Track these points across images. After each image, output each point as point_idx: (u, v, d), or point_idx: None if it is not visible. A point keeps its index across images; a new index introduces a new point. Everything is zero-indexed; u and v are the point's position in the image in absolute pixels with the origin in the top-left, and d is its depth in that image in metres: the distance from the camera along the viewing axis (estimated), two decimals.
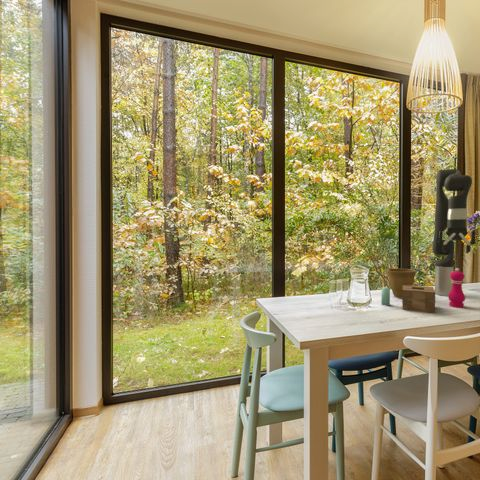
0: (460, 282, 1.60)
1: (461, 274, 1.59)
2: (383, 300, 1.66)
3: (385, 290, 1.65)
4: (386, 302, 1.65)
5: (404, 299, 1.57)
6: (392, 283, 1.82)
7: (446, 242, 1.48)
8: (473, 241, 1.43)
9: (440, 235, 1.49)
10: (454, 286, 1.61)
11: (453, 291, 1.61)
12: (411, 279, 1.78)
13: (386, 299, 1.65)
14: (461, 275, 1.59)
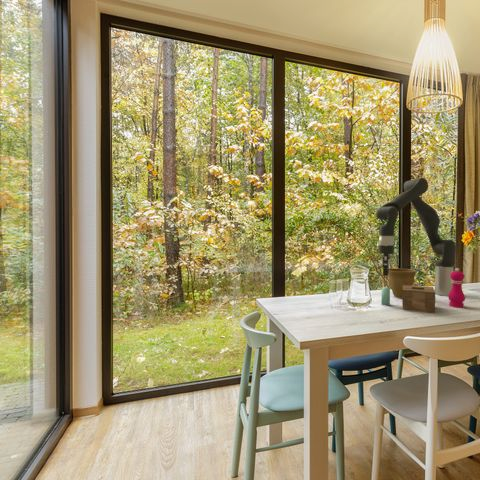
0: (460, 282, 1.60)
1: (461, 274, 1.59)
2: (383, 300, 1.66)
3: (385, 290, 1.65)
4: (386, 302, 1.65)
5: (404, 299, 1.57)
6: (392, 283, 1.82)
7: None
8: None
9: (388, 260, 1.60)
10: (454, 286, 1.61)
11: (453, 291, 1.61)
12: (411, 279, 1.78)
13: (386, 299, 1.65)
14: (461, 275, 1.59)
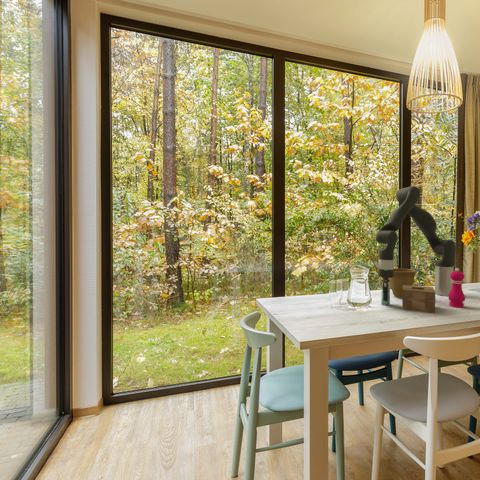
0: (460, 282, 1.60)
1: (461, 274, 1.59)
2: None
3: (385, 290, 1.65)
4: (386, 302, 1.65)
5: (404, 299, 1.57)
6: (392, 283, 1.82)
7: None
8: None
9: (387, 287, 1.61)
10: (454, 286, 1.61)
11: (453, 291, 1.61)
12: (411, 279, 1.78)
13: None
14: (461, 275, 1.59)
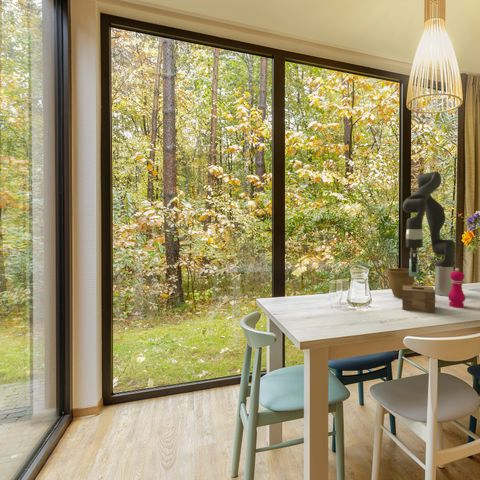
0: (460, 282, 1.60)
1: (461, 274, 1.59)
2: (411, 271, 1.60)
3: None
4: (414, 274, 1.59)
5: (404, 299, 1.57)
6: (392, 283, 1.82)
7: None
8: None
9: (416, 257, 1.55)
10: (454, 286, 1.61)
11: (453, 291, 1.61)
12: (411, 279, 1.78)
13: None
14: (461, 275, 1.59)
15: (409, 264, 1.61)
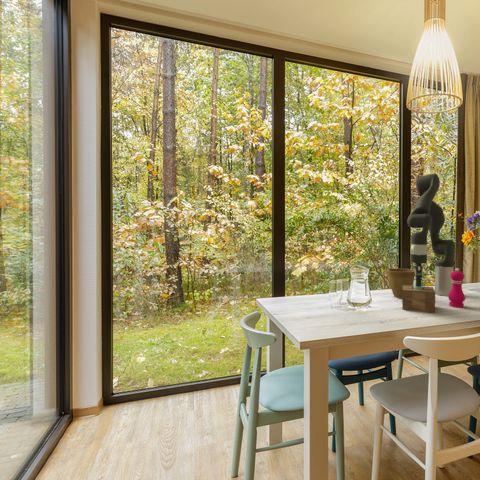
0: (460, 282, 1.60)
1: (461, 274, 1.59)
2: None
3: None
4: None
5: (404, 299, 1.57)
6: (392, 283, 1.82)
7: None
8: None
9: (421, 270, 1.53)
10: (454, 286, 1.61)
11: (453, 291, 1.61)
12: (411, 279, 1.78)
13: None
14: (461, 275, 1.59)
15: None
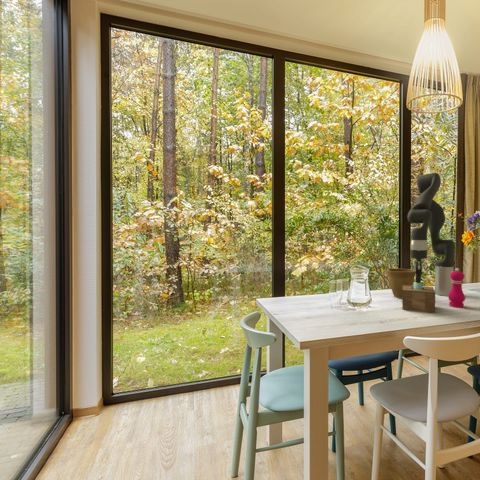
0: (460, 282, 1.60)
1: (461, 274, 1.59)
2: None
3: (418, 285, 1.58)
4: None
5: (404, 299, 1.57)
6: (392, 283, 1.82)
7: None
8: None
9: (421, 269, 1.55)
10: (454, 286, 1.61)
11: (453, 291, 1.61)
12: (411, 279, 1.78)
13: None
14: (461, 275, 1.59)
15: None
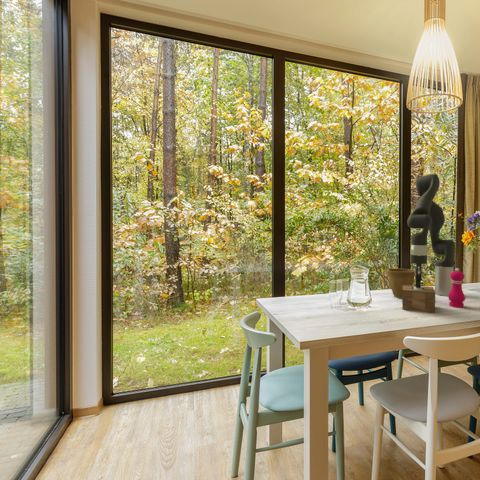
0: (460, 282, 1.60)
1: (461, 274, 1.59)
2: None
3: None
4: None
5: (404, 299, 1.57)
6: (392, 283, 1.82)
7: None
8: None
9: None
10: (454, 286, 1.61)
11: (453, 291, 1.61)
12: (411, 279, 1.78)
13: None
14: (461, 275, 1.59)
15: None
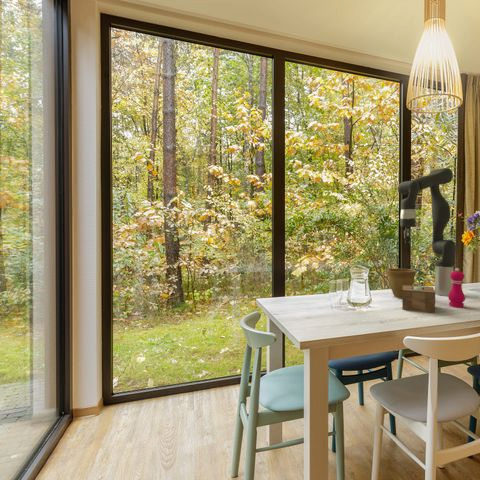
0: (460, 282, 1.60)
1: (461, 274, 1.59)
2: None
3: None
4: None
5: (404, 299, 1.57)
6: (392, 283, 1.82)
7: None
8: None
9: (410, 236, 1.67)
10: (454, 286, 1.61)
11: (453, 291, 1.61)
12: (411, 279, 1.78)
13: None
14: (461, 275, 1.59)
15: None
